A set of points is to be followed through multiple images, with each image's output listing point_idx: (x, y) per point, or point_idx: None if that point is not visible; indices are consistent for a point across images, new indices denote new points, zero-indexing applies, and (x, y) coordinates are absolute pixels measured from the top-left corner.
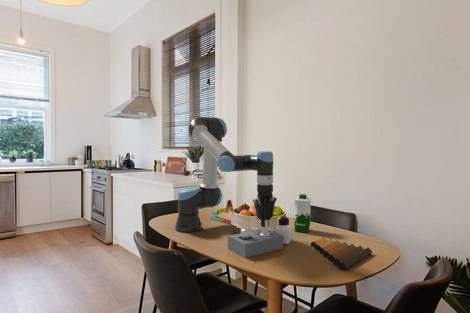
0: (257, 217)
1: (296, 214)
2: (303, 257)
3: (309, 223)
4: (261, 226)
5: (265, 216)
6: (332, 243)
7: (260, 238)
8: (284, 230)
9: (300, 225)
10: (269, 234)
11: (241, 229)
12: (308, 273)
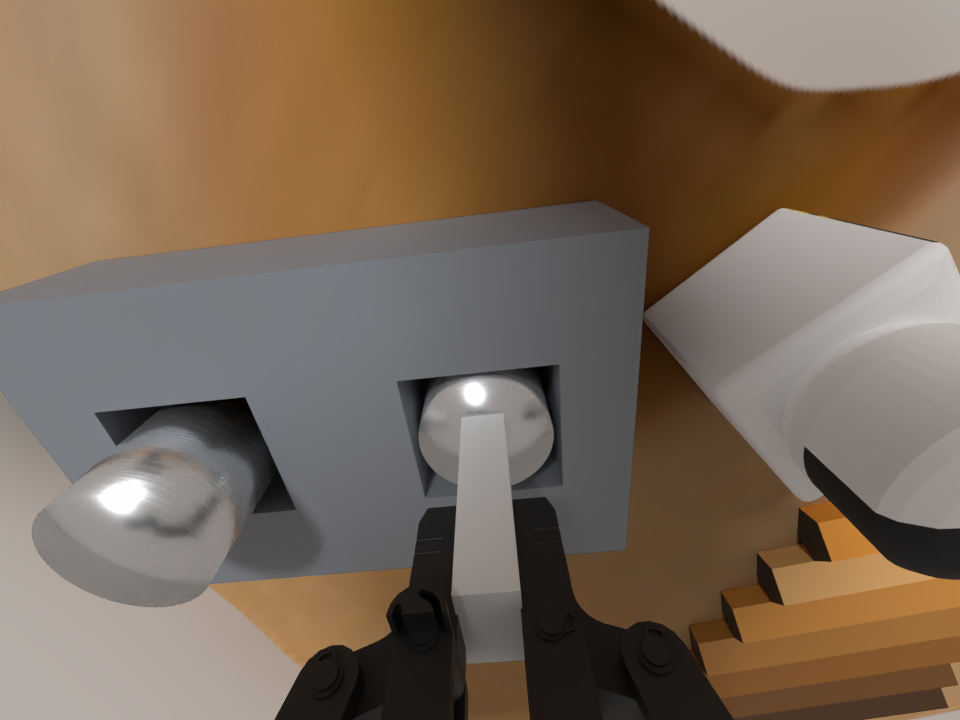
0: (295, 688)
1: None
2: (582, 599)
3: None
4: (428, 512)
5: (538, 672)
6: (886, 618)
7: (355, 531)
8: (771, 467)
9: None
10: (517, 481)
11: (44, 546)
12: None
